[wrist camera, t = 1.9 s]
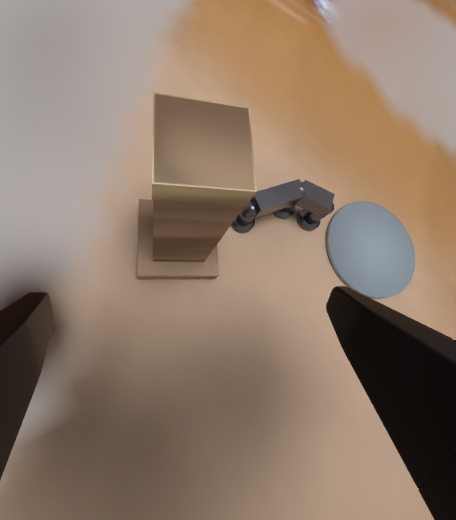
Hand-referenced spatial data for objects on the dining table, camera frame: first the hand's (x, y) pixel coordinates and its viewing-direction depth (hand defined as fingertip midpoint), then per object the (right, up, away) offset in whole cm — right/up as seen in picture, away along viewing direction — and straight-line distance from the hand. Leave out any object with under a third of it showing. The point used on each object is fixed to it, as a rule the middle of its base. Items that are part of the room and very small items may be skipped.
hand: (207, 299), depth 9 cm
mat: (+14, +2, +17) cm, 22 cm away
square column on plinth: (-3, +3, +13) cm, 13 cm away
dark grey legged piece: (+5, +5, +15) cm, 17 cm away
